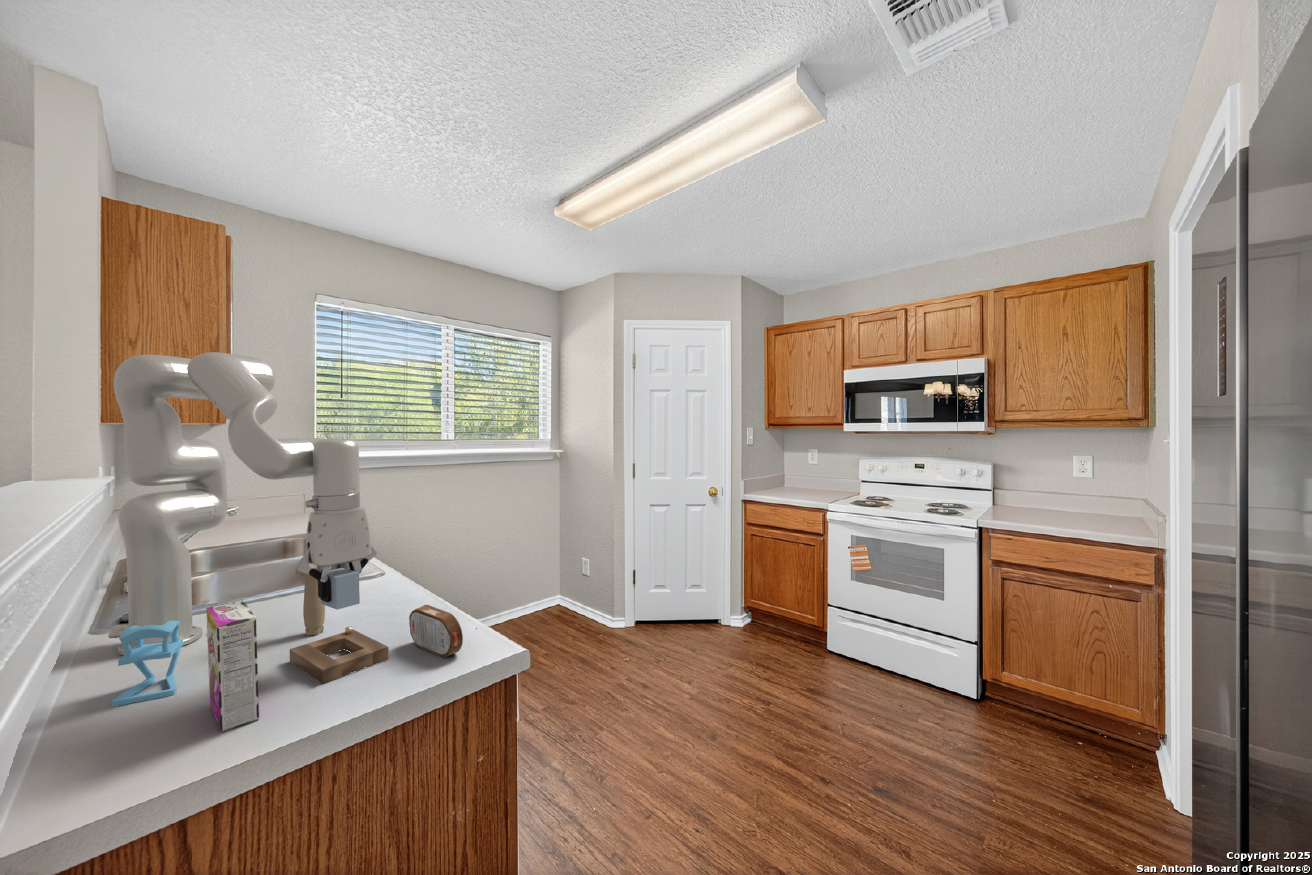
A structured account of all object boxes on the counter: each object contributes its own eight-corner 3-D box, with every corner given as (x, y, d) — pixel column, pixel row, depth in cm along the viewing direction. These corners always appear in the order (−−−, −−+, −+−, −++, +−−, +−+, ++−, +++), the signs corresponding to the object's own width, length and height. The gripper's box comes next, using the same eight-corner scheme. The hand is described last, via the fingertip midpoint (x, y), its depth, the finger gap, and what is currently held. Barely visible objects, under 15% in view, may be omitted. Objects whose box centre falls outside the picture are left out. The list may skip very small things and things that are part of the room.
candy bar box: (206, 706, 82) (204, 606, 81) (246, 694, 86) (244, 598, 85) (218, 735, 74) (215, 625, 74) (260, 720, 78) (258, 615, 78)
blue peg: (337, 609, 94) (335, 577, 94) (320, 603, 98) (319, 572, 98) (359, 603, 97) (358, 572, 97) (342, 597, 101) (341, 567, 101)
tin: (464, 657, 99) (464, 615, 99) (450, 663, 97) (449, 620, 97) (420, 639, 108) (420, 600, 108) (406, 644, 105) (406, 604, 105)
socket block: (322, 684, 89) (322, 663, 89) (289, 661, 97) (289, 642, 97) (388, 659, 98) (388, 640, 98) (353, 640, 107) (352, 623, 107)
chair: (190, 674, 93) (189, 609, 92) (174, 695, 85) (173, 624, 85) (132, 684, 89) (131, 617, 89) (110, 707, 82) (109, 633, 81)
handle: (334, 631, 111) (333, 564, 111) (299, 641, 107) (298, 570, 106) (328, 625, 115) (327, 560, 114) (294, 634, 110) (293, 566, 109)
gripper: (295, 511, 88) (297, 614, 88) (390, 499, 102) (392, 589, 102) (278, 507, 92) (280, 606, 93) (372, 496, 106) (374, 582, 106)
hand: (339, 596), depth 97 cm, fingers closed on blue peg, 4 cm apart
